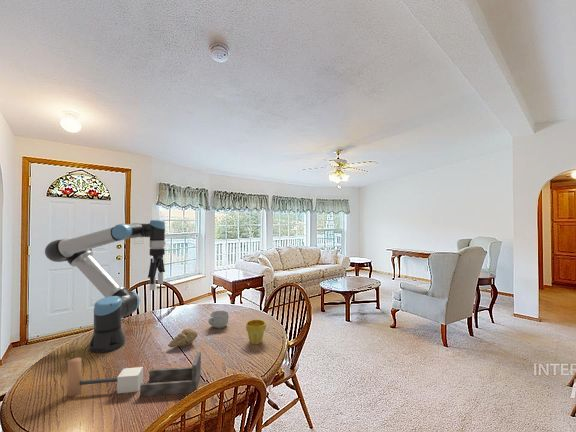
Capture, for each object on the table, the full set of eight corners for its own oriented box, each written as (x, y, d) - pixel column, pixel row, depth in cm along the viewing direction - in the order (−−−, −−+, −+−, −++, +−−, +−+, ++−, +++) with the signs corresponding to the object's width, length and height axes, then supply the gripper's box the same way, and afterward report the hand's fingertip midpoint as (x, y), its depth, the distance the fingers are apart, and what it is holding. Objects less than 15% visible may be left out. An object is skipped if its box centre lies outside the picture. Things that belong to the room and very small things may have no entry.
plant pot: (260, 347, 141) (260, 327, 141) (242, 344, 144) (242, 325, 144) (268, 339, 151) (268, 320, 151) (251, 336, 154) (251, 318, 154)
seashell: (173, 354, 133) (173, 337, 133) (164, 348, 138) (165, 332, 138) (198, 344, 144) (198, 328, 144) (189, 339, 149) (190, 324, 149)
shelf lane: (140, 396, 101) (140, 368, 101) (150, 379, 112) (150, 354, 112) (195, 392, 104) (196, 365, 104) (200, 376, 114) (200, 351, 115)
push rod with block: (63, 398, 99) (63, 365, 100) (72, 388, 105) (73, 356, 105) (137, 391, 104) (138, 359, 104) (142, 382, 110) (143, 351, 110)
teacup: (221, 321, 175) (221, 309, 175) (232, 326, 168) (232, 312, 168) (201, 328, 164) (202, 314, 164) (212, 333, 157) (213, 319, 157)
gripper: (157, 250, 142) (156, 292, 142) (170, 245, 167) (170, 281, 166) (141, 250, 141) (140, 293, 141) (157, 245, 165) (156, 281, 165)
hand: (156, 286), depth 154 cm, fingers open, 13 cm apart
